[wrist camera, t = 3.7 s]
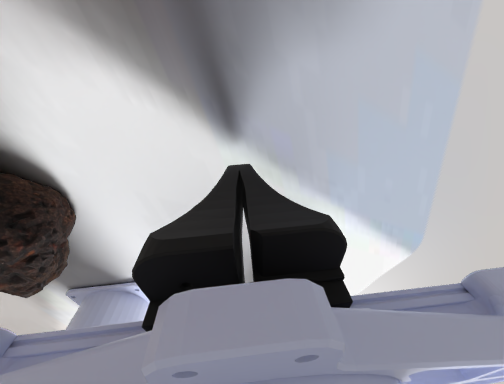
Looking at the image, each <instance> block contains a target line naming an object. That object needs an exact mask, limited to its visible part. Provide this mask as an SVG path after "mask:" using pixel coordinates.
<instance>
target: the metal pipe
mask: <svg viewBox="0 0 504 384" xmlns="http://www.w3.org/2000/svg"><path fill="white" fill-rule="evenodd" d="M75 220H76V216H75V214H74V211H73V210H72V209H71V208H70V204H68V202H67V199H65V198H64V197H63V196H62V195H61V194H60V193H59V192H58V191H56V190H54V189H52V188H51V187H50V186H43V185H40V184H37V183H34V182H31V181H30V180H23V179H21V178H19V177H17V176H16V175H12V174H0V292H4V293H8V294H11V295H16V296H20V297H24V298H28V297H30V296H32V295H35V294H36V293H38V292H40V291H41V290H43V287H44V286H46V285H47V284H48V283H49V282H51V281H52V280H54V279H55V278H57V277H59V276H60V274H61V273H62V271H63V270H64V268H65V267H66V266H67V262H66V261H67V258H68V255H69V247H68V243H69V242H68V240H67V237H68V236H69V235H70V233H71V231H72V229H73V226H74V224H75Z"/></svg>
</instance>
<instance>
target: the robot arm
mask: <svg viewBox="0 0 504 384" xmlns="http://www.w3.org/2000/svg"><path fill="white" fill-rule="evenodd" d="M243 209H244V214H245V219H246V224H247V229H248V234H249V240H250V249H251V259H252V269H253V280H254V282H252V283H245V279H244V265H243V250H242V222H243ZM346 248H347V242H346V238H345V237H344V235H343V233H342V232H341V230H340V229H339V227H338V226H337V224H336V223H335V222H334V221H333V219H332V218H331V217H330V216H329V215H326V214H323V213H320V212H317V211H314V210H311V209H308V208H306V207H304V206H301V205H299V204H297V203H295V202H293V201H291V200H289V199H287V198H286V197H284V196H282V195H281V194H279V193H278V192H276V191H275V190H274V189H272V188H271V187H270V186H269V185H268V184H267V183H266V182H265V181H264V180H263V179H262V178H261V177H260V176H259V175H258V174H257V173H256V171H255V170H254V169H253V167H252V166H251V165H250V164H242V165H230V166H228V167H227V169H226V171H225V172H224V174H223V176H222V177H221V179H220V180H219V182H218V183H217V184H216V186H215V187H214V188H213V189H212V191H211V192H210V193H209V194H208V195H207V196H206V197H205V198H204V199H203V200H202V201H201V202H200V203H199V204H197V205H196V206H195V207H194V208H192V209H191V210H190V211H189V212H187V213H186V214H184V215H183V216H181V217H180V218H178V219H176V220H175V221H173V222H171V223H170V224H168V225H166V226H164V227H162V228H160V229H158V230H156V231H155V232H153V233H150V235H149V237H148V238H147V240H146V242H145V244H144V246H143V248H142V250H141V252H140V254H139V256H138V259H137V261H136V263H135V265H134V267H133V270H132V277H133V279H134V281H135V282H134V283H125V284H116V285H106V286H97V287H88V288H79V289H70V290H68V291H67V292H66V295H67V296H68V297H69V298H70V299H72V300H73V301H74V302H76V303H77V304H78V305H80V307H79V308H78V310H77V312H76V313H75V315H74V317H73V318H72V320H71V322H70V323H69V325H68V327H67V328H66V330H61V331H52V332H44V333H35V334H27V335H18V336H17V335H16V334H15V333H14V332H12V331H10V330H8V329H5V328H1V327H0V384H491V383H498V382H504V267H502V268H493V269H485V270H478V271H475V272H472V273H470V274H469V275H467V276H466V277H465V278H464V279H463V280H462V281H461V283H458V284H449V285H442V286H432V287H424V288H416V289H408V290H400V291H390V292H383V293H374V294H365V295H356V296H350V294H349V292H348V290H347V288H346V286H345V284H344V282H343V280H344V274H343V272H342V270H341V268H340V265H341V262H342V260H343V257H344V255H345V252H346Z"/></svg>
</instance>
